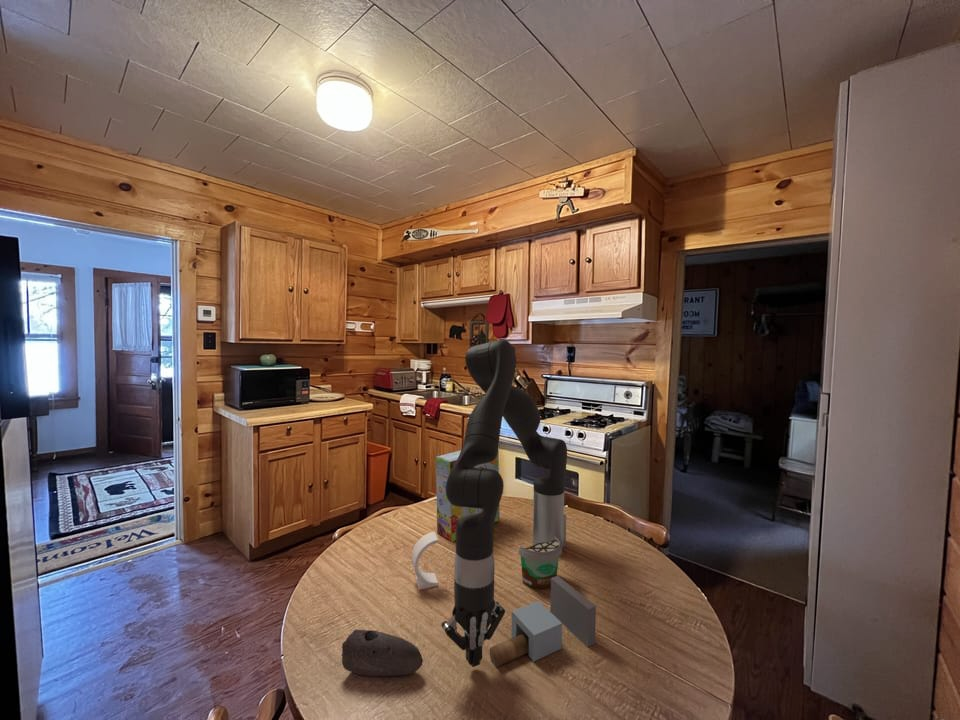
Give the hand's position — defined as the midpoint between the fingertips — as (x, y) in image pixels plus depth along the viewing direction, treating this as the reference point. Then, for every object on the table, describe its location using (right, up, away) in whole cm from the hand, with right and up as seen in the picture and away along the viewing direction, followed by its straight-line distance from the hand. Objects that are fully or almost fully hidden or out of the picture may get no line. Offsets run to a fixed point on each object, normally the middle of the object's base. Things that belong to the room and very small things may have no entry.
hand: (473, 662), depth 75 cm
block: (+13, -1, +7) cm, 15 cm away
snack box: (-3, +1, +58) cm, 58 cm away
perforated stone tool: (-17, -2, 0) cm, 17 cm away
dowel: (+7, -1, +4) cm, 8 cm away
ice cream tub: (+18, -1, +27) cm, 32 cm away
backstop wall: (+21, -1, +12) cm, 24 cm away
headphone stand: (-13, 0, +27) cm, 30 cm away
